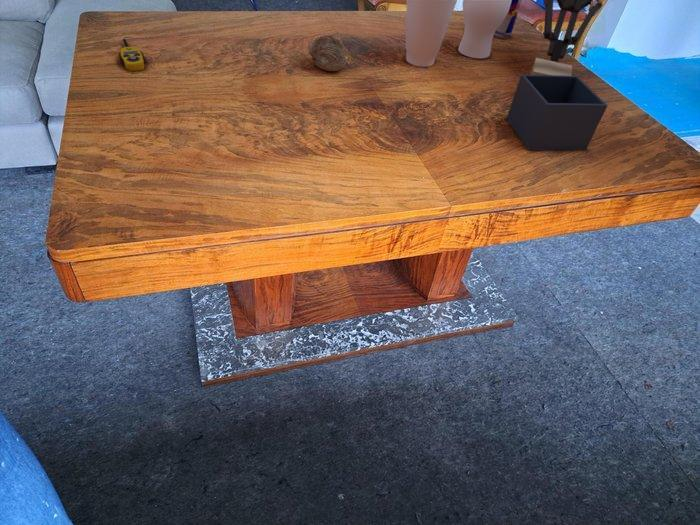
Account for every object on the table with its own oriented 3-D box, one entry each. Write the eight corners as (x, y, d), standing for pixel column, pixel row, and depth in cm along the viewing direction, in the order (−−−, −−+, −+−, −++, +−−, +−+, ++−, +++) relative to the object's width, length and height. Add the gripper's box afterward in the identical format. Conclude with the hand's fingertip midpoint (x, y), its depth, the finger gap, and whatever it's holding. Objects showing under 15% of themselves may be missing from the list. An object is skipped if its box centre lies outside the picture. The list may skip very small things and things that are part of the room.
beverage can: (495, 38, 139) (512, -22, 129) (489, 31, 143) (506, -28, 132) (512, 39, 140) (531, -20, 129) (506, 32, 144) (524, -27, 133)
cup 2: (465, 62, 126) (482, -7, 115) (444, 44, 133) (459, -23, 122) (504, 60, 129) (524, -8, 118) (481, 42, 136) (499, -24, 125)
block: (525, 87, 119) (536, 57, 114) (560, 95, 117) (572, 65, 112) (522, 101, 113) (533, 71, 108) (559, 110, 112) (571, 79, 107)
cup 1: (451, 70, 122) (468, -2, 111) (405, 72, 119) (418, -2, 108) (432, 49, 130) (446, -19, 119) (389, 51, 127) (399, -20, 115)
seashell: (315, 79, 113) (348, 74, 115) (314, 48, 108) (349, 43, 110) (303, 60, 119) (335, 55, 121) (302, 29, 114) (335, 25, 116)
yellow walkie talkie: (122, 63, 105) (111, 35, 114) (124, 72, 106) (113, 43, 115) (147, 61, 107) (134, 33, 116) (148, 70, 108) (135, 42, 117)
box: (586, 150, 100) (607, 105, 94) (528, 150, 98) (546, 104, 92) (559, 118, 109) (577, 75, 102) (506, 118, 107) (521, 74, 100)
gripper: (605, -14, 118) (575, 83, 118) (549, -25, 120) (519, 70, 120) (617, -34, 111) (585, 69, 111) (556, -46, 113) (525, 56, 113)
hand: (551, 70), depth 116 cm, fingers closed
